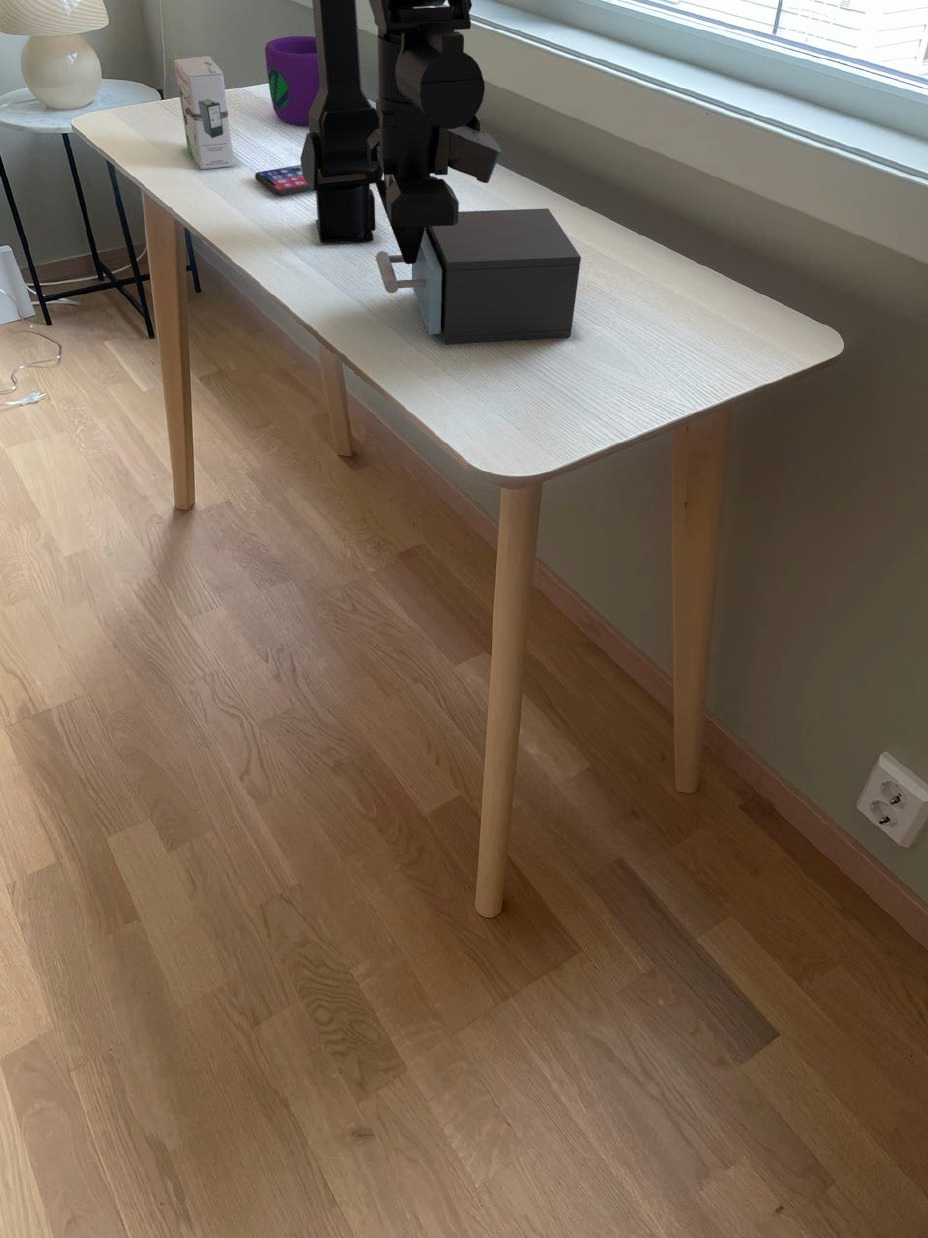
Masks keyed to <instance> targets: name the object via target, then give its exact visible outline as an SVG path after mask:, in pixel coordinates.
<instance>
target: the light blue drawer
mask: <svg viewBox="0 0 928 1238" xmlns="http://www.w3.org/2000/svg"><path fill="white" fill-rule="evenodd" d="M375 261H376V264H377V267H378V271H379V273H380V277H381V280H382V283H383V286H384V289H385V291H386V292H387V293H389V294H395V293H396V292H398V290H399V289H411V288H412V289H413V292H414V296H415V298H416V301H417V304H418V306H419V309H420V312H421V315H422V319H423V321H424V323H425V326H426V329H427V332H428V334H429V335H438V334H439V335H441V301H442V303H443V306H444V302H445V268H446V267H445V265H444V262H443V260H442V258H441V255H440V253H439V251H438V248H437V246H436V254H435V252H434V249H433V247H432V244H431V242H430V240H429V237H428V235H427V233H426V230H425V231H424V234H423V238H422V241H421V245H420V249H419V252H418V256H417V260H416V263H414V264H411V279H397V276H396V273H395V270H394V267H393V264H396V263H399V264H400V263H405V262H404V259H403V256H402V254H396V255H395V254H393V255H392V254H391V255H390V254H389V253H388V252H387V251H384V250H382V251H378V252H377V254H376V255H375Z"/></svg>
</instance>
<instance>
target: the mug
mask: <svg viewBox="0 0 928 1238" xmlns="http://www.w3.org/2000/svg"><path fill="white" fill-rule="evenodd" d="M264 54H265V64H266V65H265V66H266V73H267V80H268V87H269V93H270V100H271V104H272V107H273V108H272V109H273V111H274V113H275V115H276V116H277V117H278V118H279V119H280V120H282V121H283V122H286V123H288V124H292V125H295V126H296V125H297V126H309V120H308V114H309V111H310V109H311V107H312V104H313V102H314V100H315V97H316V95H317V93H318V91H319V88H320V83H319V71H318V60H317V49H316V38H315V36H312V35H311V36H310V35H308V36H307V35H293V36H292V35H291V36H282V37H278V38H274V39H272V40H270V41H268V42H267V43H266V44H265V48H264Z"/></svg>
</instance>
